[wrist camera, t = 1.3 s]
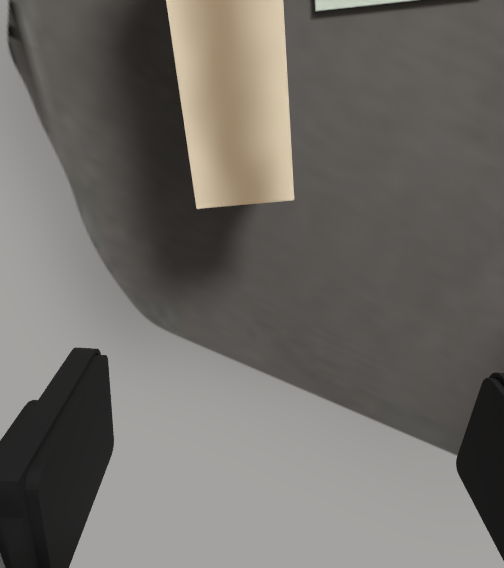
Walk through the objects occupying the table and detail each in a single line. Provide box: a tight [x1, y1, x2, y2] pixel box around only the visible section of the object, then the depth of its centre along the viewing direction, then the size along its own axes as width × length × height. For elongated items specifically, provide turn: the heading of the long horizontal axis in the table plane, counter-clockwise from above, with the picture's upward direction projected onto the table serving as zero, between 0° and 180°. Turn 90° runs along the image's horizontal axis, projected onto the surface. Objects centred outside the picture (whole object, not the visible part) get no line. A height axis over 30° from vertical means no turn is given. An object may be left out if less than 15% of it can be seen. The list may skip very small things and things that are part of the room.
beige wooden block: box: [166, 0, 294, 209], centre depth 25 cm, size 6×20×3 cm, turn 5°
